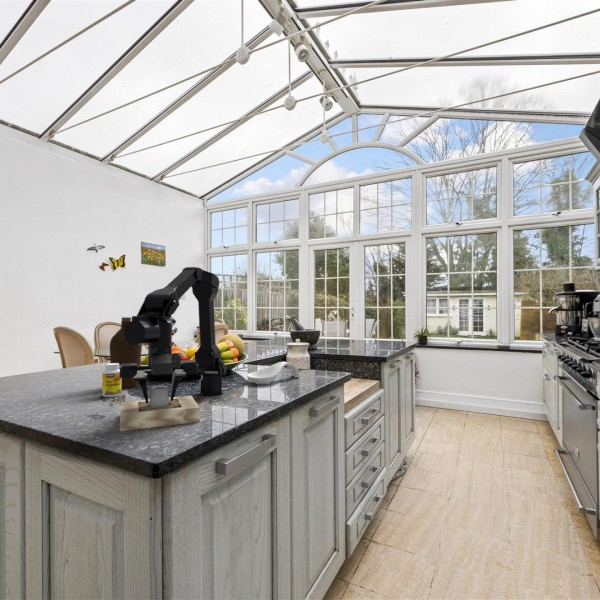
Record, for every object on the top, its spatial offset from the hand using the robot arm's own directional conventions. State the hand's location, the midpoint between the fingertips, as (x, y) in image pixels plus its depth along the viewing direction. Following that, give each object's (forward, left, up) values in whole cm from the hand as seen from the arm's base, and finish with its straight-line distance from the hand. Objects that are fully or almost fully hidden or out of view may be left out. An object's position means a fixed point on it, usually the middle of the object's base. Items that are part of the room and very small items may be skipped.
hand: (159, 402), depth 96 cm
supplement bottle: (+12, -33, -4) cm, 35 cm away
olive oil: (+8, -46, -4) cm, 47 cm away
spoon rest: (-45, -34, -5) cm, 57 cm away
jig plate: (0, 0, -4) cm, 4 cm away
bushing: (0, 0, -4) cm, 4 cm away
